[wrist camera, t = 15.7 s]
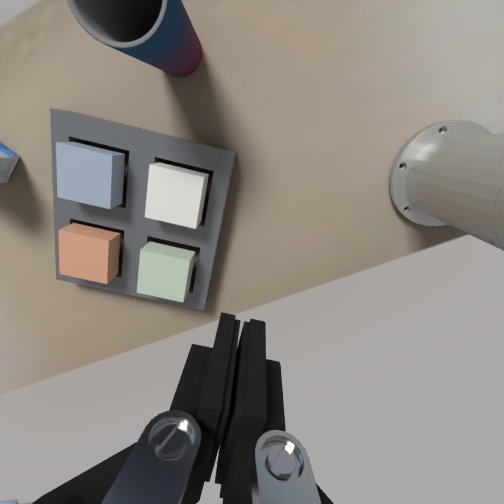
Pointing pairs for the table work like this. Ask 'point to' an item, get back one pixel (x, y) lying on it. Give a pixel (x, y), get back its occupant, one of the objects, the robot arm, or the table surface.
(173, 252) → the sage key
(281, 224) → the table surface
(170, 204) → the white key
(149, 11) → the cup
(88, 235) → the terracotta key
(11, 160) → the medicine box
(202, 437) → the robot arm
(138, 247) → the keypad base
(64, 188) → the slate key
